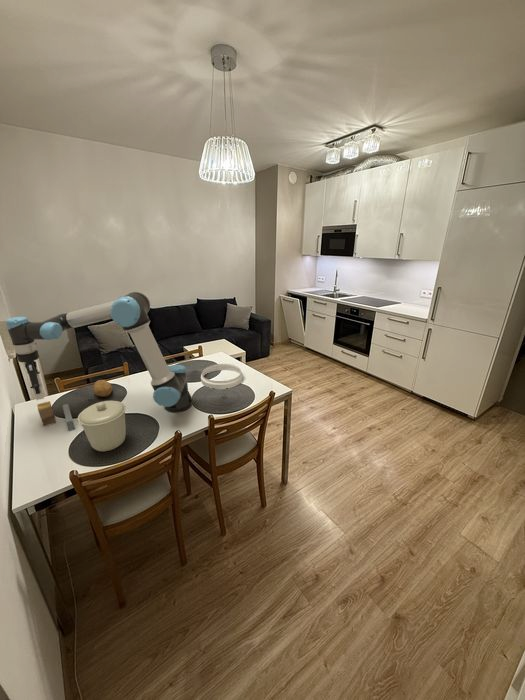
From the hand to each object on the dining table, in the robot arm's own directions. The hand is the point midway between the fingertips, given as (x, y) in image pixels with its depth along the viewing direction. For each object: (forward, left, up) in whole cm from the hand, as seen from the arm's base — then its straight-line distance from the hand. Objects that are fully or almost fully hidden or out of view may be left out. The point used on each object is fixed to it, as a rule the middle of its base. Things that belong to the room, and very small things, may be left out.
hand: (39, 392), depth 133 cm
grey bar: (-5, -8, -17) cm, 19 cm away
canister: (-35, -20, -17) cm, 44 cm away
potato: (+12, -27, -17) cm, 34 cm away
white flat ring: (-12, -92, -17) cm, 95 cm away
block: (0, 0, -17) cm, 17 cm away
